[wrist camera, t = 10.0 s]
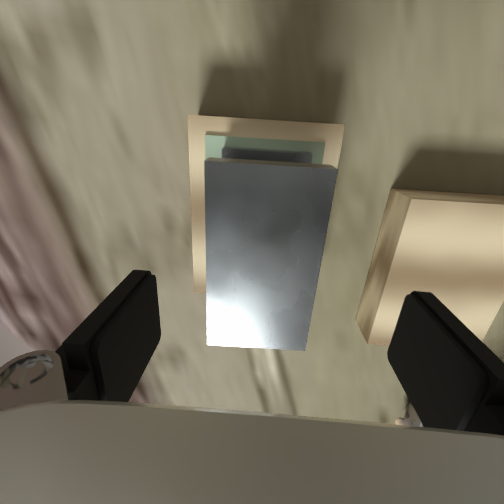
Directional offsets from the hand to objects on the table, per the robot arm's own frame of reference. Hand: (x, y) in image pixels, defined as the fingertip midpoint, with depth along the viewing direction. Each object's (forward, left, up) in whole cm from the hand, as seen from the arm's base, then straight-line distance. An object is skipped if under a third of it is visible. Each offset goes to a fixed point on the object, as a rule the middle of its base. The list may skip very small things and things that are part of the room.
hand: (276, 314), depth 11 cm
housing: (+1, +1, -9) cm, 9 cm away
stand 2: (-3, -13, -12) cm, 18 cm away
